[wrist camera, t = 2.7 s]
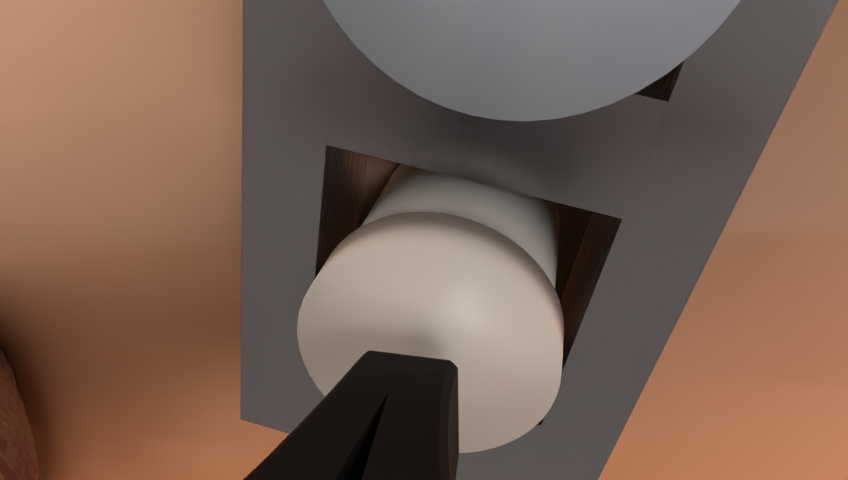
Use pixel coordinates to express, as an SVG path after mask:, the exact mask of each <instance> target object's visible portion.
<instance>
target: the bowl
mask: <svg viewBox="0 0 848 480" xmlns="http://www.w3.org/2000/svg"><path fill="white" fill-rule="evenodd" d="M0 480H40V474H39V467H38V460H37V452H36V443H35V437H34V434H33V432H32V429H31V426H30V424H29V421H28V418H27V414H26V409H25V406H24V404H23V401H22V398H21V396H20V393H19V391H18V388H17V385H16V382H15V377H14V373H13V371H12V369H11V367H10V365H9V363H8V362H7V360H6V358H5V356H4V354H3V352H2V350H1V348H0Z"/></svg>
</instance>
